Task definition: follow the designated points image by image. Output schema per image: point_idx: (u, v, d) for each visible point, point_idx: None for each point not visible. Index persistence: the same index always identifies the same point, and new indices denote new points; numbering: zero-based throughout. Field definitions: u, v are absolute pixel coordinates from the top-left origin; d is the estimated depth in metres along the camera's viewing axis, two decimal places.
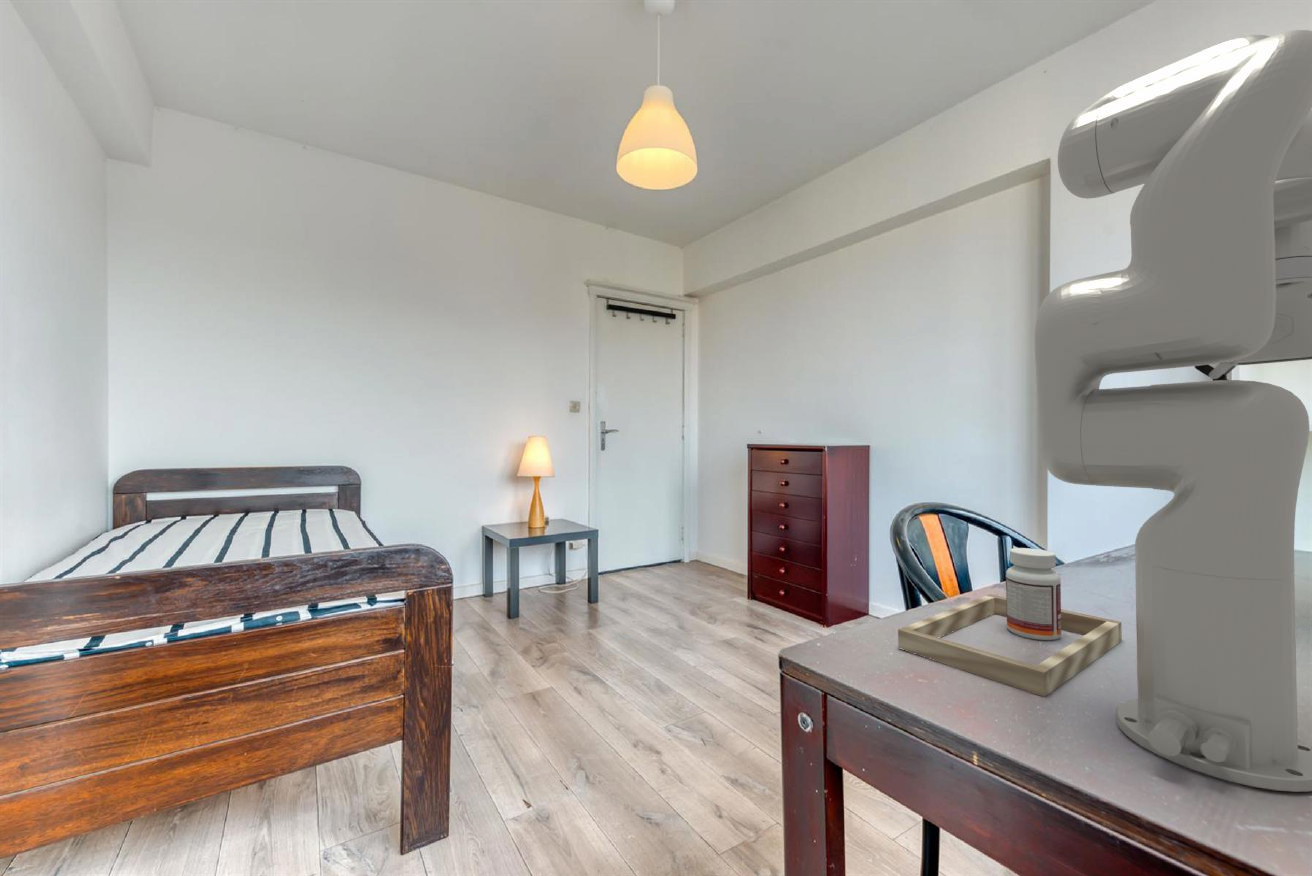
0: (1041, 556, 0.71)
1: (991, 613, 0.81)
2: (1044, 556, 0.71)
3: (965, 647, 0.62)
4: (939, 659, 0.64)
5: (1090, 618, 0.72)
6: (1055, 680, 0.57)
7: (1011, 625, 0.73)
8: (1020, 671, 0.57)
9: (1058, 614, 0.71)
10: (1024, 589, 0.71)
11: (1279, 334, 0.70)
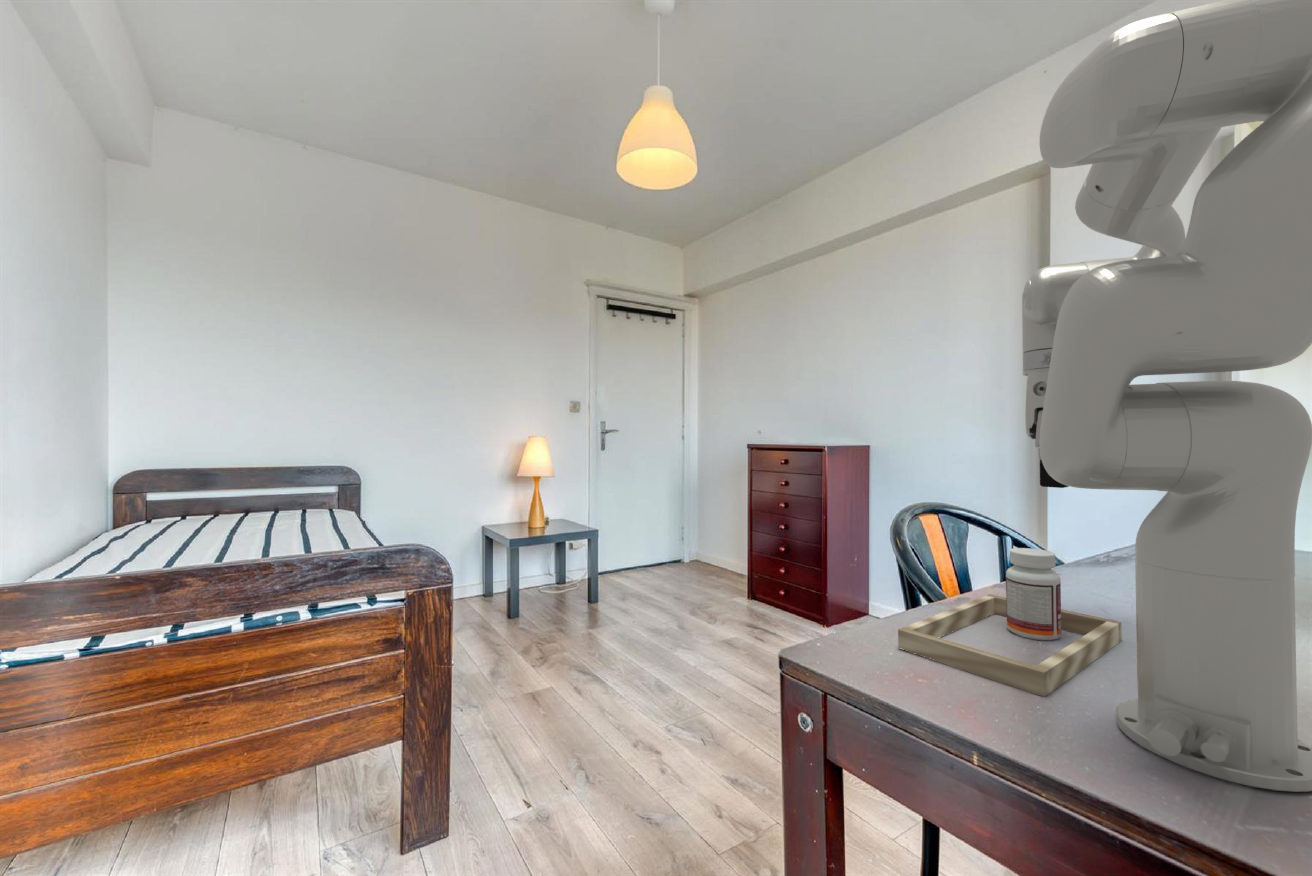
0: (1041, 556, 0.71)
1: (991, 613, 0.81)
2: (1044, 556, 0.71)
3: (965, 647, 0.62)
4: (939, 659, 0.64)
5: (1090, 618, 0.72)
6: (1055, 680, 0.57)
7: (1011, 625, 0.73)
8: (1020, 671, 0.57)
9: (1058, 614, 0.71)
10: (1024, 589, 0.71)
11: None
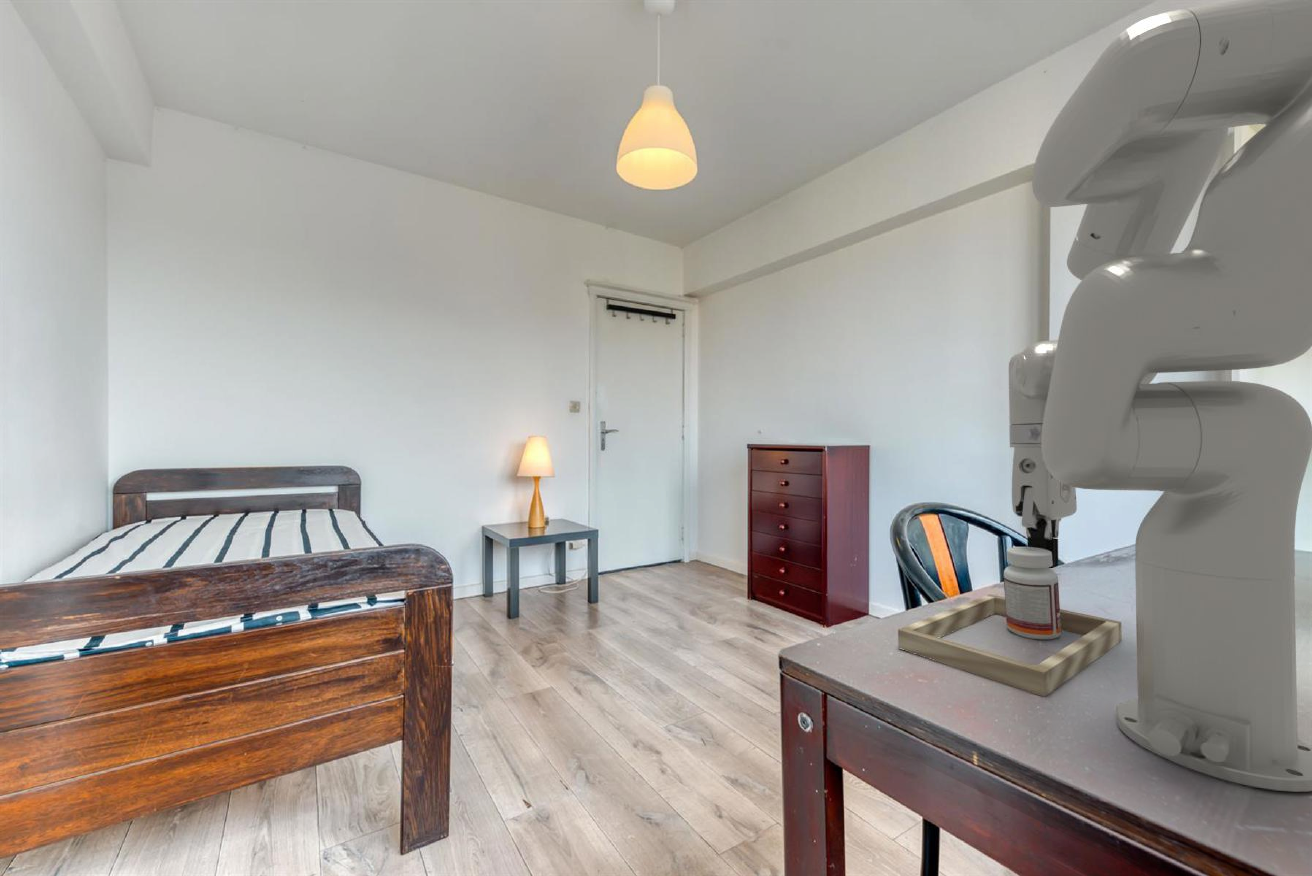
0: (1038, 556, 0.71)
1: (991, 613, 0.81)
2: (1041, 556, 0.70)
3: (965, 647, 0.62)
4: (939, 659, 0.64)
5: (1090, 618, 0.72)
6: (1055, 680, 0.57)
7: (1010, 625, 0.73)
8: (1020, 671, 0.57)
9: (1057, 613, 0.70)
10: (1022, 589, 0.71)
11: (1066, 494, 0.74)
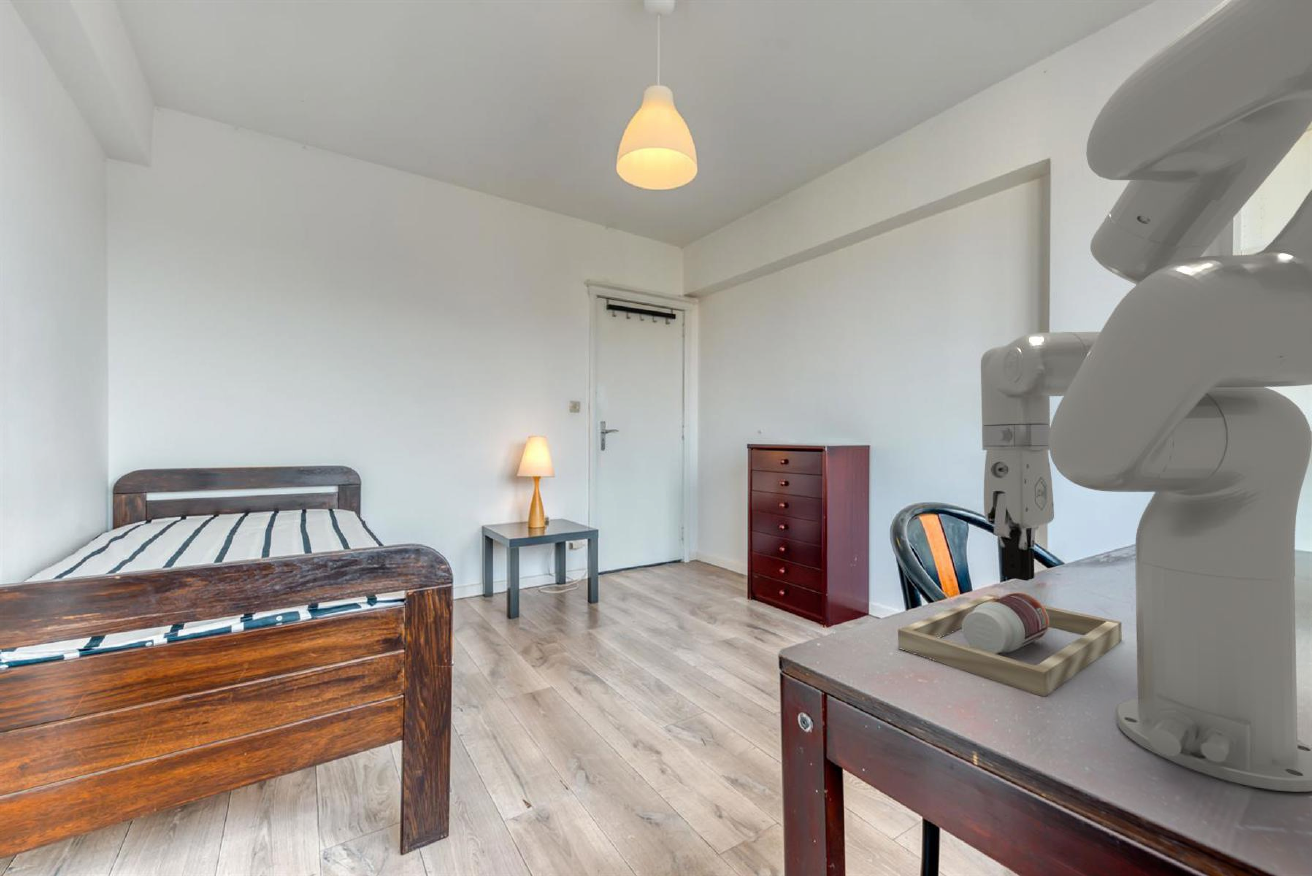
0: (998, 652, 0.64)
1: None
2: (1000, 650, 0.64)
3: (965, 647, 0.62)
4: (939, 659, 0.64)
5: (1090, 618, 0.72)
6: (1055, 680, 0.57)
7: None
8: (1020, 671, 0.57)
9: (1039, 629, 0.67)
10: None
11: (1042, 500, 0.69)
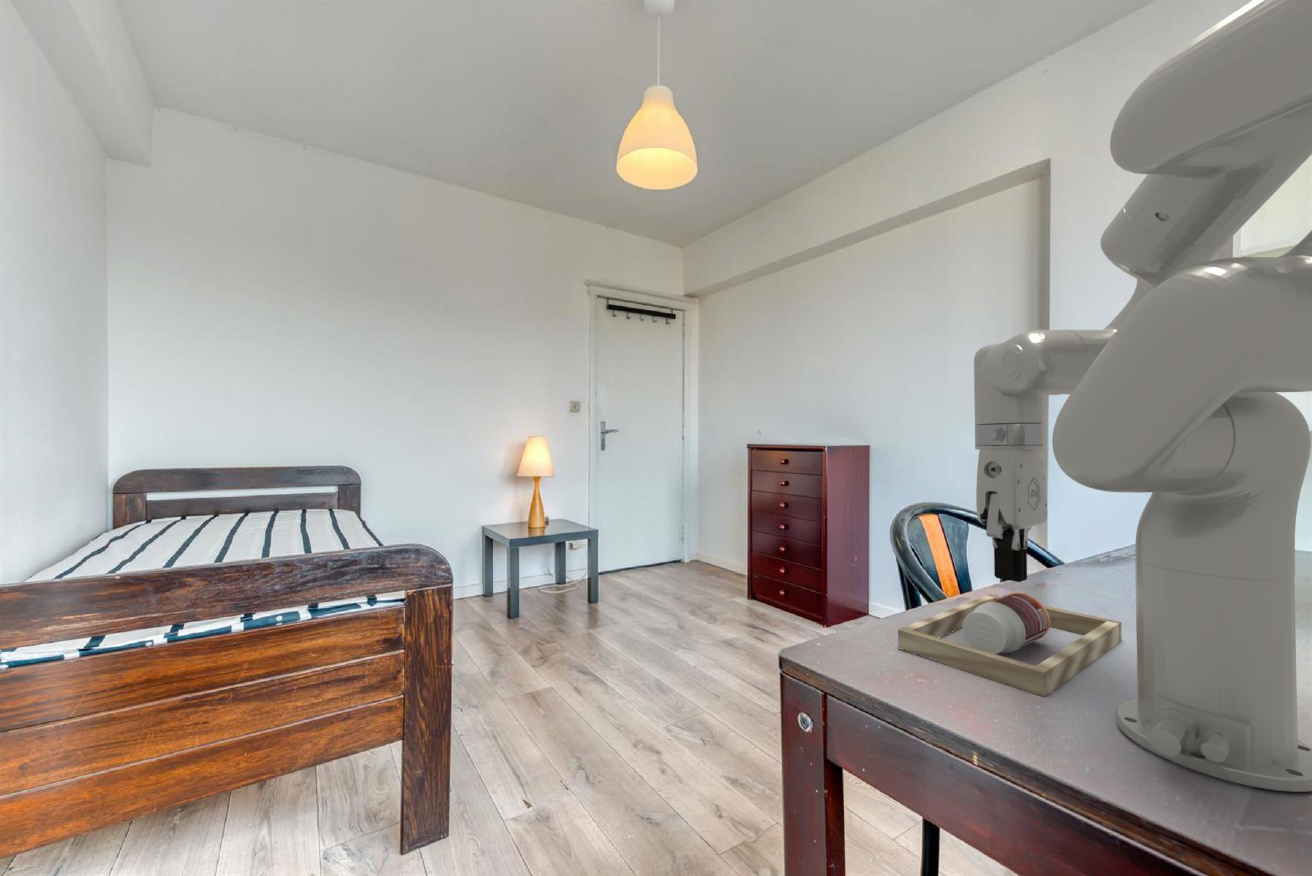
0: (998, 652, 0.64)
1: None
2: (1001, 651, 0.64)
3: (965, 647, 0.62)
4: (939, 659, 0.64)
5: (1090, 618, 0.72)
6: (1055, 680, 0.57)
7: None
8: (1020, 671, 0.57)
9: (1039, 630, 0.67)
10: None
11: (1035, 501, 0.67)
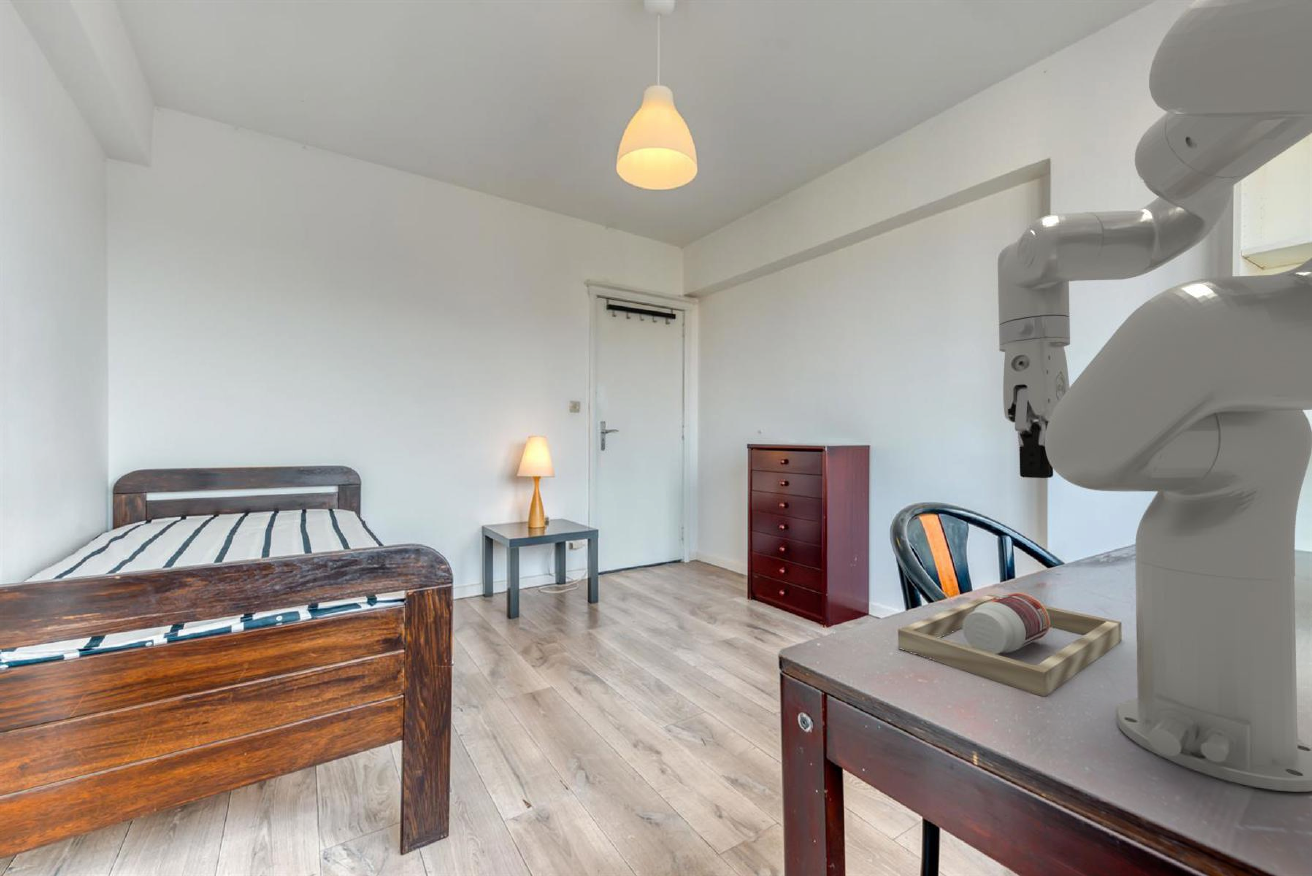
0: (998, 652, 0.64)
1: None
2: (1001, 651, 0.64)
3: (965, 647, 0.62)
4: (939, 659, 0.64)
5: (1090, 618, 0.72)
6: (1055, 680, 0.57)
7: None
8: (1020, 671, 0.57)
9: (1039, 630, 0.67)
10: None
11: (1061, 396, 0.67)
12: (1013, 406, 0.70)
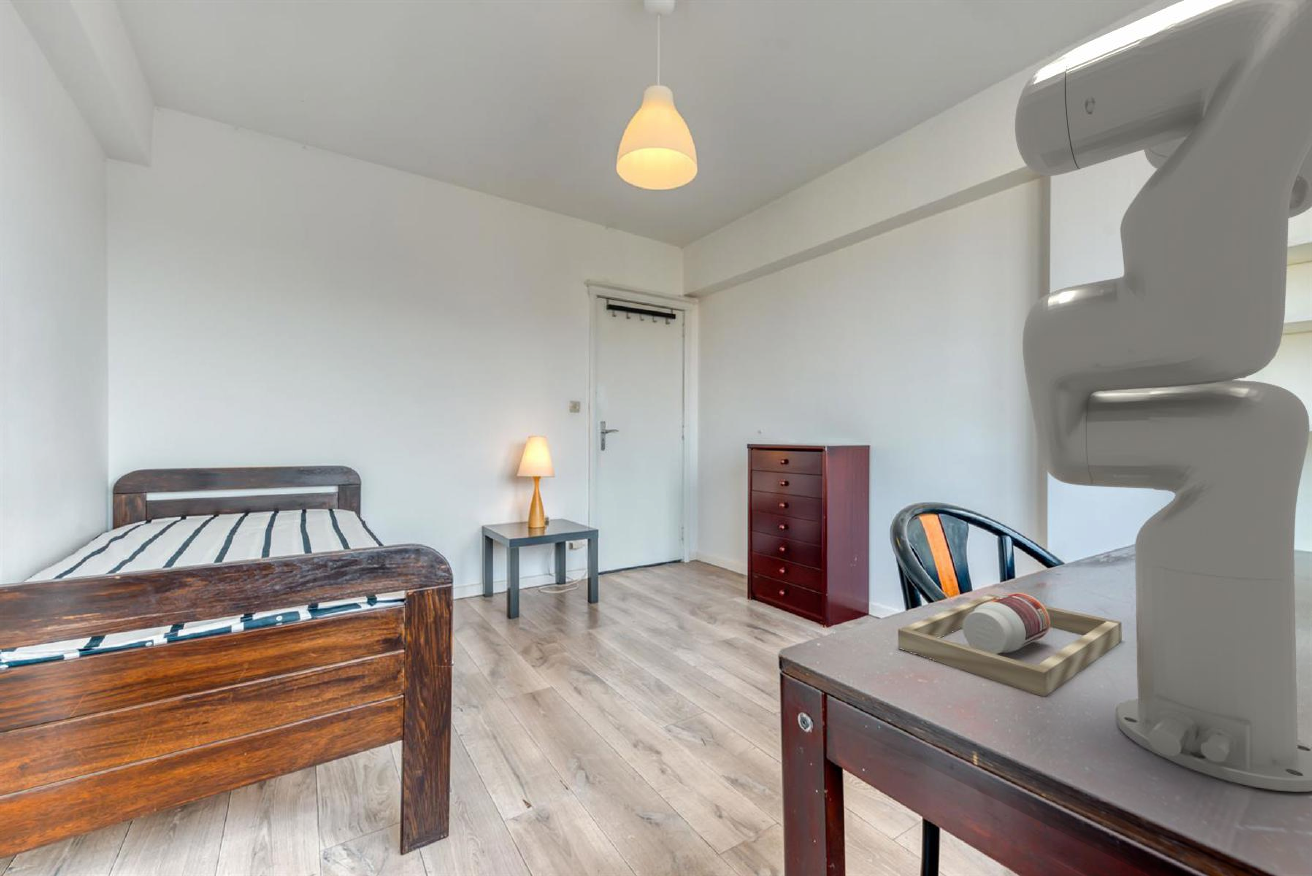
0: (998, 652, 0.64)
1: None
2: (1001, 651, 0.64)
3: (965, 647, 0.62)
4: (939, 659, 0.64)
5: (1090, 618, 0.72)
6: (1055, 680, 0.57)
7: None
8: (1020, 671, 0.57)
9: (1039, 630, 0.67)
10: None
11: None
12: None
